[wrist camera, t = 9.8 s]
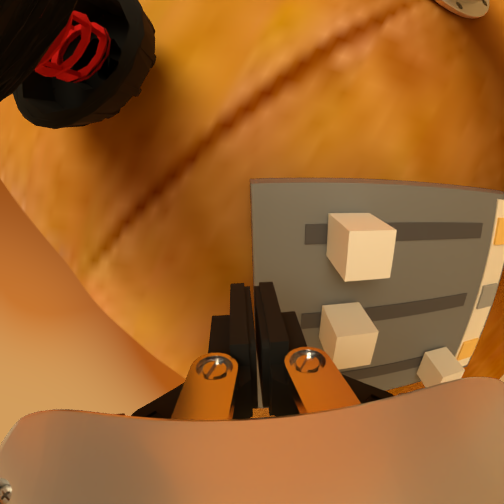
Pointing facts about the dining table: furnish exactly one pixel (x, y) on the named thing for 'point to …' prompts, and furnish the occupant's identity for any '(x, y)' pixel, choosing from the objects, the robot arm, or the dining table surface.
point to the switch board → (402, 272)
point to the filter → (73, 58)
